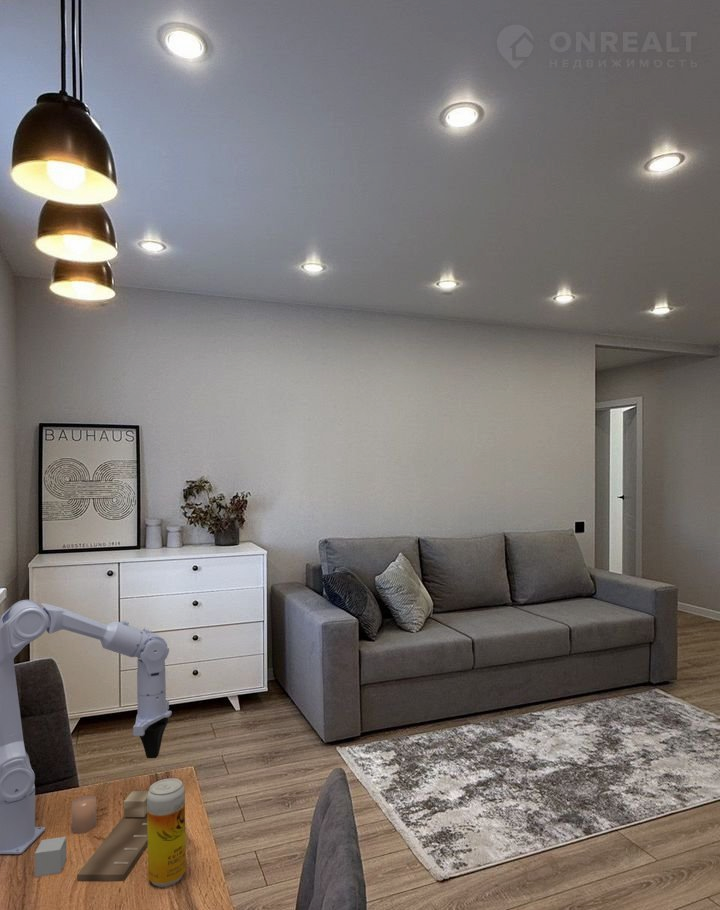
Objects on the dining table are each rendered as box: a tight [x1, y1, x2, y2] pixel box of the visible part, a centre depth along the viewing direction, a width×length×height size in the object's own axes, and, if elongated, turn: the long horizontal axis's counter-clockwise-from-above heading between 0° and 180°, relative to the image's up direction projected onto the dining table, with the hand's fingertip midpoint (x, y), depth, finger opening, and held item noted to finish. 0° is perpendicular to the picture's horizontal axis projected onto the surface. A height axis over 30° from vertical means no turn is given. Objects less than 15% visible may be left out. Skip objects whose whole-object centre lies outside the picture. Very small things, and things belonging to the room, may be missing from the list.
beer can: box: [147, 777, 187, 888], centre depth 103 cm, size 6×6×15 cm
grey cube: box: [34, 836, 67, 878], centre depth 106 cm, size 4×4×4 cm
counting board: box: [76, 814, 148, 882], centre depth 113 cm, size 8×22×1 cm, turn 177°
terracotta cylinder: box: [70, 794, 97, 835], centre depth 118 cm, size 4×4×5 cm
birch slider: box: [123, 790, 149, 817], centre depth 121 cm, size 6×4×3 cm
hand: (152, 756), depth 129 cm, fingers closed
